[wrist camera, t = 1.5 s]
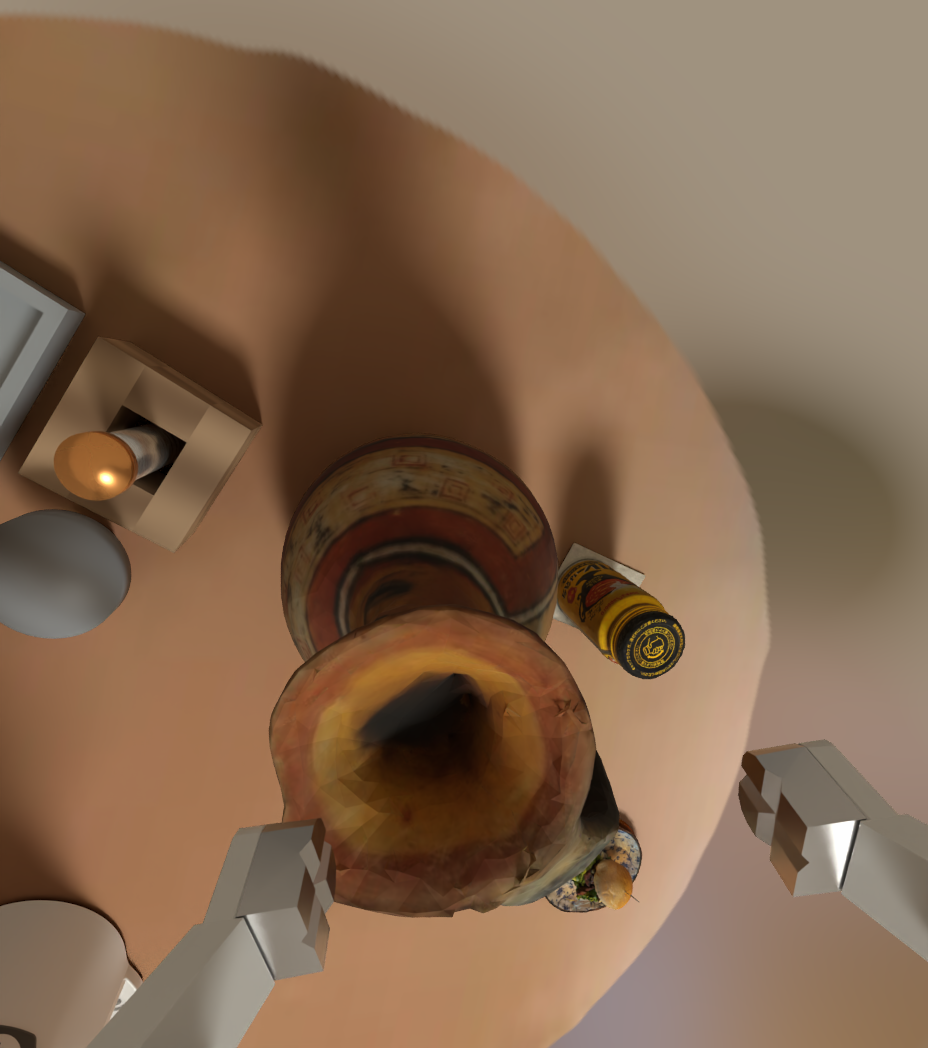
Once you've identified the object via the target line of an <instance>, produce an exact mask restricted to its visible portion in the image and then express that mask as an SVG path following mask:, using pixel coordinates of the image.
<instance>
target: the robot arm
mask: <svg viewBox="0 0 928 1048" xmlns="http://www.w3.org/2000/svg"><path fill="white" fill-rule="evenodd" d="M741 766H742V768H743V769H744V770H745V772H746V774H747V775H746V776H745V777H744V778H743V779H742V780H741V781H740V782H739V793H738V796H739V800H740V805H741V809H742V812H743V814H744V817H745V819H746V821H747V823H748V825H749V827H750V828H751V830H752V832H753V833H754V835H755V836H756V837H757V838H759V839H760V840H762V841H763V842H765V843H767V844H768V845H769V846H771V849H770V861H771V863H772V864H773V866H774V867H775V869H776V870H777V872H778V874H779V875H780V877H781V879H782V880H783V882H784V883H785V885H786V887H787V888H788V890H789V891H790V893H791V895H792V896H793V897H797V896H805V895H813V894H821V893H829V892H837V891H842V893H841V894H842V895H843V896H845V897H846V898H847V899H848V900H850V901H851V902H852V903H854V904H855V905H856V906H858V907H859V908H860V909H861V910H862V911H864V912H865V913H866V914H868V915H869V916H870V917H871V918H873V919H874V920H875V921H877V922H878V923H879V924H880V925H882V926H883V927H884V928H886V929H887V930H888V931H890V932H891V933H892V934H893V935H894V936H896V937H897V938H899V940H901V941H902V942H903V943H905V944H906V945H907V946H908V947H910V948H911V949H912V950H913V951H915V952H916V953H918V954H919V955H920V956H921V957H922V958H924V959H925V960H926V961H928V825H927V824H925V823H923V822H921V821H919V820H917V819H916V818H914V817H912V816H910V815H908V814H904V815H898V814H897V812H896V811H895V810H894V809H893V808H892V807H891V806H890V805H889V804H888V803H887V802H886V801H885V800H884V798H883V797H882V796H880V794H879V793H878V792H877V791H876V790H875V789H874V788H873V787H872V786H871V784H870V783H869V782H868V781H867V780H866V779H865V778H864V777H863V776H862V775H861V774H860V773H859V772H858V770H857V769H856V768H855V767H854V766H853V765H852V764H851V763H850V762H849V761H848V760H847V759H846V758H845V756H844V755H843V754H842V753H841V752H840V751H839V750H838V749H837V748H836V747H835V746H834V745H833V744H832V743H831V742H829V741H827V740H818V741H811V742H805V743H799V744H795V743H794V744H788V745H782V746H776V747H771V748H765V749H759V750H753V751H747V752H746V753H745V754H744V755H743V758H742V765H741ZM325 832H326V828H325V826H324V823H323V821H322V818H316V819H308V820H299V821H291V822H283V823H275V824H267V825H260V826H253V827H246V828H239V830H238V831H237V833H236V834H235V836H234V837H233V839H232V842H231V844H230V847H229V850H228V853H227V856H226V859H225V861H224V864H223V867H222V870H221V873H220V876H219V879H218V881H217V884H216V887H215V890H214V893H213V896H212V898H211V901H210V904H209V907H208V910H207V913H206V916H205V918H204V921H203V923H202V924H197V925H194V926H193V927H192V928H191V929H190V930H189V932H188V933H187V934H186V935H185V936H184V937H183V938H182V939H181V941H180V942H179V943H178V944H177V945H176V946H175V947H174V949H173V950H172V951H171V952H170V953H169V954H168V955H167V956H166V958H165V959H164V960H163V961H162V962H161V963H160V964H159V965H158V967H157V968H156V969H155V970H154V971H153V972H152V973H151V974H150V976H149V977H148V978H147V979H146V980H145V981H144V982H142V979H141V977H140V976H139V975H138V973H137V972H136V971H135V970H134V969H133V968H132V967H131V966H130V965H129V963H128V960H127V956H126V950H125V946H124V943H123V940H122V938H121V936H120V934H119V933H118V931H117V930H116V929H115V928H114V926H113V925H112V924H111V923H109V922H108V921H107V920H106V919H105V918H103V917H102V916H100V915H99V914H97V913H95V912H93V911H91V910H89V909H86V908H84V907H81V906H78V905H74V904H70V903H65V902H59V901H49V900H33V901H22V902H16V903H11V904H6V905H3V906H0V1048H237V1046H238V1044H239V1043H240V1041H241V1039H242V1038H243V1036H244V1034H245V1033H246V1031H247V1030H248V1028H249V1026H250V1025H251V1023H252V1021H253V1020H254V1018H255V1016H256V1015H257V1013H258V1011H259V1010H260V1008H261V1006H262V1005H263V1003H264V1002H265V1000H266V998H267V997H268V995H269V993H270V992H271V990H272V988H273V987H274V985H275V982H274V980H280V979H285V978H290V977H295V976H301V975H306V974H311V973H316V972H322V971H324V964H325V958H326V951H327V944H328V938H329V931H330V927H329V925H328V922H327V919H326V916H325V913H326V912H327V910H328V909H329V908H330V906H331V905H332V903H333V902H334V896H335V888H336V862H335V856H334V852H333V849H332V846H331V845H330V844H328V843H327V842H325V841H324V838H325Z"/></svg>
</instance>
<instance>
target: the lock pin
mask: <svg viewBox="0 0 928 1048" xmlns="http://www.w3.org/2000/svg"><path fill="white" fill-rule="evenodd" d="M185 445H186V442H185V441H183V440H182V439H180V438H178V437H177V436H175V435H173V434H171V433H170V432H168V431H166V430H165V429H163V428H161V427H159V426H158V425H156V424H154V423H151V424H146V425H142V426H138V427H133V428H129V429H124V430H120V431H115V432H111V433H108V432H103V431H89V432H84V433H79V434H75V435H72V436H70V437H68V438H67V439H65V440H64V441H63V442H62V443H61V444H60V445H59V446H58V448H57V450H56V452H55V455H54V470H55V473H56V475H57V477H58V479H59V481H60V482H61V483H62V485H63V486H64V487H65V488H66V489H67V490H69V491H70V492H71V493H73V494H75V495H77V496H79V497H81V498H84V499H88V500H106V499H110V498H113V497H115V496H117V495H119V494H121V493H123V492H125V491H126V490H127V489H129V488H130V487H131V486H132V484H133V483H134V481H135V480H137V479H139V478H141V477H143V476H145V475H147V474H149V473H151V472H154V471H156V470H158V469H160V468H162V467H164V466H166V465H168V464H170V463H172V462H174V461H176V459H177V458H178V456H179V454H180V453H181V451H182V450H183V448H184V446H185Z"/></svg>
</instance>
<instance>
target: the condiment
mask: <svg viewBox="0 0 928 1048" xmlns="http://www.w3.org/2000/svg"><path fill="white" fill-rule="evenodd" d="M644 578H645V575H643V574H641V573H638V572H636V571H634V570H632V569H630V568H628V567H625V566H623V565H621V564H619V563H617V562H615V561H613V560H611V559H608V558H606V557H604V556H602V555H600V554H598V553H596V552H593V551H591V550H589V549H587V548H585V547H583V546H581V545H578V544H576V543H574V544H573V545H572V547H571V549H570V551H569V553H568V554H567V556H566V558H565V560H564V561H563V563H562V565H561V567H560V569H559V571H558V592H557V603H556V608H555V612H554V615H553V619H556V620H558V621H561V622H563V623H566V624H568V625H571V626H573V627H575V628H578V629H579V630H580V631H581V632H582V633H583V634H584V635H585V636H586V637H587V638H588V639H589V640H590V641H591V642H592V643H593V644H594V645H595V646H596V647H597V648H598V649H599V651H600V652H601V653H602V654H603V655H604V656H605V657H606V658H607V659H609V660H611V661H612V662H614V663H617V664H619V665H620V666H622V667H623V669H624V670H626V671H627V672H628V673H630V674H631V675H633V676H635V677H638V678H642V679H653V678H657V677H659V676H661V675H663V674H665V673H666V672H668V671H669V670H670V669H672V668H673V667H674V666H675V665H676V663H677V662H678V660H679V658H680V657H681V656H682V653H683V650H684V648H685V634H684V631H683V629H682V627H681V625H680V624H679V622H678V621H677V619H675V618H673V616H671V615H669V614H668V613H667V612H666V611H665V609H664V607H663V606H662V604H661V603H660V602H659V601H658V600H657V599H656V598H654V597H653V596H651V595H650V594H649V593H647V592H646V591H644V590H642V589H641V588H640V587H639V586H640V585H641V583H642V581H643V579H644Z"/></svg>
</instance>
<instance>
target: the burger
mask: <svg viewBox="0 0 928 1048" xmlns="http://www.w3.org/2000/svg"><path fill="white" fill-rule="evenodd" d="M641 860H642V851H641V847H640V845H639V842H638V840H637V839H636V837H635V835H634V833H633V831H632V830H631V828H630V827H629V826H628V825H626V823H625V822H624V821H622V820H620V819H619V830H618V832H617V833H616V835H615V837H614V838H613V839H612V840H611V841H610V842H609V843H608V844H607V846H606V847H605V848H604V849H603V850H602V851H601V852H600V853H599V854H598V856H597V857H596V858H595V859H594V860H593V861H592V862H591V863H590V864H589V866H588V867H587V868H586V869H585V870H584V871H583V872H581V873H580V874H578V875H577V876H576V877H574V878H573V879H571V880H570V881H568V882H567V883H565V884H564V885H562V886H561V887H560V888H558V889H557V890H555V891H554V892H552V893H550V894H549V895H547V896H545V897H546V899H547V900H548V901H549V903H551V904H552V905H553V906H554V907H556V908H557V909H559V910H561V911H564V912H582V913H586V912H588V911H595V910H599V909H601V908H604V907H609V908H612V909H615V910H616V909H620V908H622V907H623V906H624V905H625V904H626V903H627V902H628V901H629V899H630V897H633V896H632V895H631V894H632V889H633V888H632V887H633V882H634V880H635V879H636V877H637V874H638V873H639V869H640V866H641ZM633 898H634V897H633ZM634 899H635V898H634ZM635 900H636V899H635ZM637 901H638V900H637ZM638 902H639V901H638Z"/></svg>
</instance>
